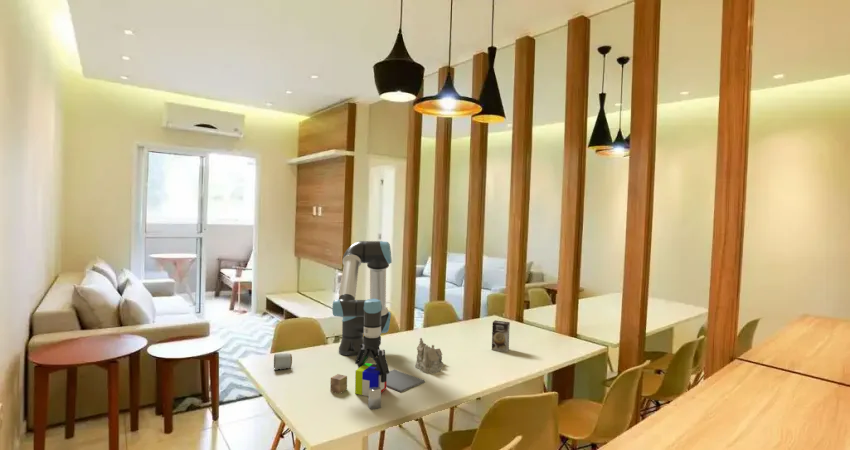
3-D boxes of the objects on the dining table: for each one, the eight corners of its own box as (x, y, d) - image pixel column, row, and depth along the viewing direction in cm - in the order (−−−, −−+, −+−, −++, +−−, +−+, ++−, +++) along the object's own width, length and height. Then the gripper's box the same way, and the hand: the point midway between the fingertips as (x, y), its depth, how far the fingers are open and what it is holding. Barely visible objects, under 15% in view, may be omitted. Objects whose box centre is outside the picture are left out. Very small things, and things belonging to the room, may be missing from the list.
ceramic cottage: (423, 374, 204) (425, 342, 205) (410, 364, 219) (412, 335, 220) (452, 372, 211) (453, 341, 212) (437, 362, 226) (439, 334, 226)
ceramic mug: (292, 369, 207) (292, 354, 207) (274, 372, 203) (275, 356, 203) (289, 363, 217) (289, 348, 217) (272, 365, 213) (272, 350, 213)
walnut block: (330, 391, 183) (330, 377, 183) (337, 387, 187) (337, 373, 187) (339, 393, 180) (339, 379, 180) (346, 389, 185) (347, 376, 185)
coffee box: (491, 350, 244) (491, 322, 244) (493, 347, 250) (494, 319, 250) (507, 352, 241) (507, 324, 241) (509, 349, 247) (509, 321, 247)
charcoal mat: (369, 380, 196) (369, 378, 196) (394, 371, 208) (394, 369, 208) (400, 392, 183) (400, 390, 183) (424, 382, 195) (424, 380, 195)
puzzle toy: (376, 397, 177) (376, 373, 177) (355, 393, 180) (355, 370, 180) (386, 388, 186) (386, 365, 186) (365, 385, 190) (366, 362, 189)
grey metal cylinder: (365, 406, 168) (365, 389, 168) (374, 402, 172) (375, 385, 172) (374, 410, 165) (374, 393, 165) (383, 406, 169) (383, 389, 169)
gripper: (347, 331, 188) (346, 379, 189) (385, 343, 172) (384, 396, 173) (360, 328, 194) (359, 375, 194) (398, 339, 178) (397, 390, 178)
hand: (371, 385), depth 183 cm, fingers closed on puzzle toy, 12 cm apart
